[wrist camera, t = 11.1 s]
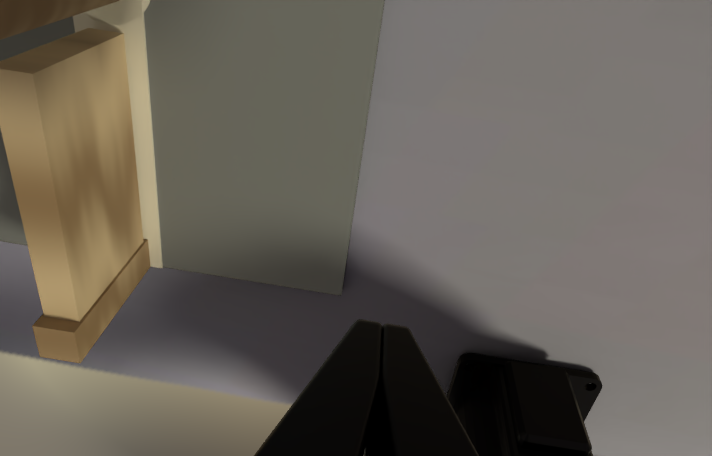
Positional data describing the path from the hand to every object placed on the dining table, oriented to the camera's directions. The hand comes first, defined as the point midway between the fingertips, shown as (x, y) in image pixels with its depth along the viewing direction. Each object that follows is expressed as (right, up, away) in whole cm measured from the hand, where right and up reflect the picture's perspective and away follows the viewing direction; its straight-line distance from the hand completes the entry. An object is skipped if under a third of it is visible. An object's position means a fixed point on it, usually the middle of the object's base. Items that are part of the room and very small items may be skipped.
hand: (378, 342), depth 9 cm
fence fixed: (-9, +6, +12) cm, 16 cm away
